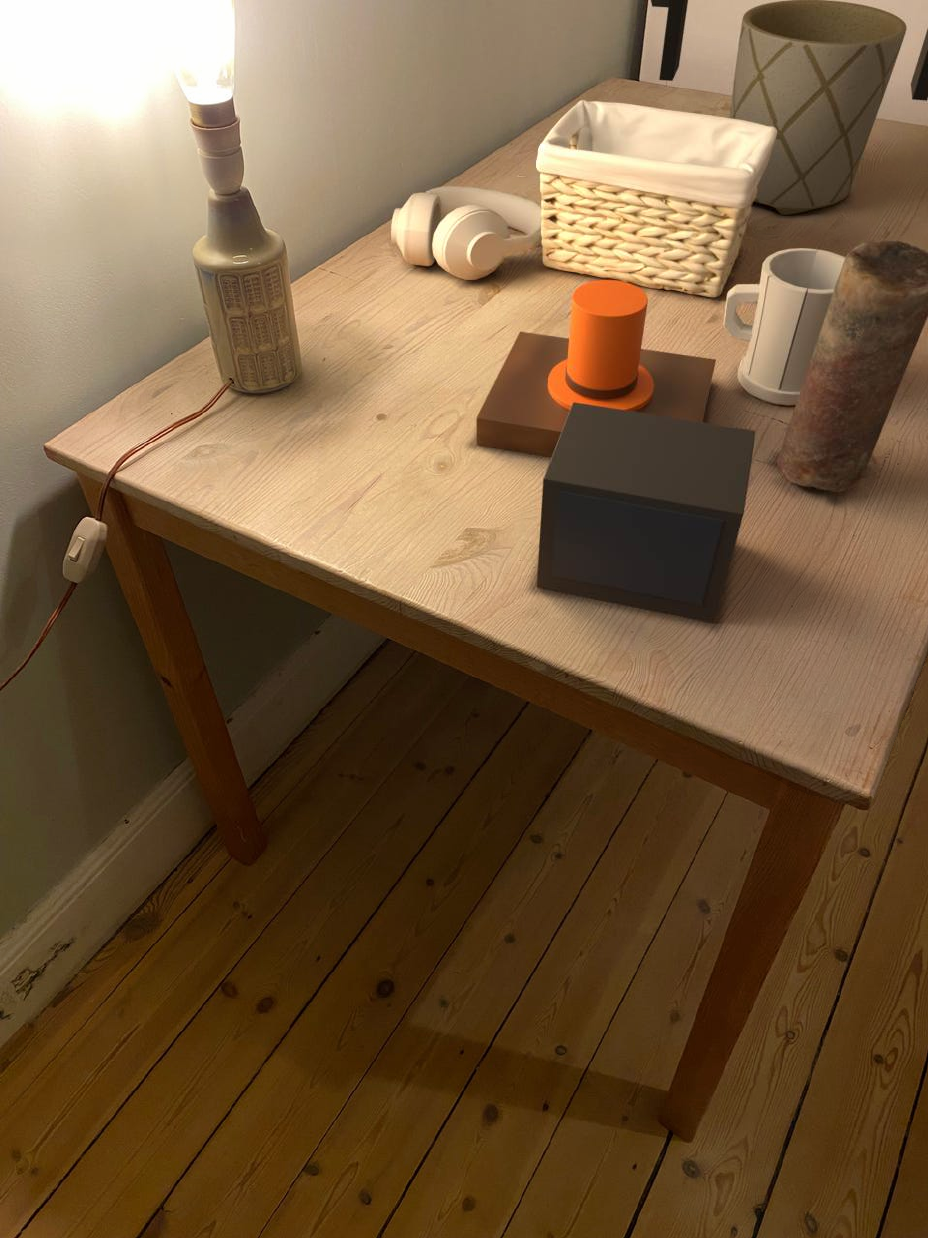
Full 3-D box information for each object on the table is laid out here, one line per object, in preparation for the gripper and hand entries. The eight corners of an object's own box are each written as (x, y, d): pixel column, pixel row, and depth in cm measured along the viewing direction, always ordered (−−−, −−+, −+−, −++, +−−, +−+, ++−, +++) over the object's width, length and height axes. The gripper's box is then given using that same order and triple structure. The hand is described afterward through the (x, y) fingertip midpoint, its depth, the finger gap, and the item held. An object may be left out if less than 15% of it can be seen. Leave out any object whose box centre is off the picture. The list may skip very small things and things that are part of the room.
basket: (754, 248, 113) (783, 119, 102) (728, 310, 102) (757, 174, 92) (569, 219, 119) (577, 94, 108) (527, 274, 109) (532, 143, 98)
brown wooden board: (710, 385, 92) (716, 359, 90) (689, 480, 82) (695, 453, 80) (519, 356, 96) (520, 331, 94) (476, 444, 86) (476, 417, 84)
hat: (660, 367, 89) (675, 278, 82) (643, 424, 83) (658, 333, 76) (560, 352, 91) (566, 264, 85) (536, 407, 85) (541, 317, 78)
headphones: (490, 300, 103) (569, 255, 117) (495, 228, 98) (578, 190, 112) (359, 261, 110) (449, 223, 123) (358, 193, 105) (452, 160, 118)
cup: (746, 417, 88) (776, 301, 80) (705, 368, 94) (728, 255, 86) (843, 399, 90) (882, 284, 81) (796, 352, 96) (828, 240, 87)
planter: (683, 182, 126) (709, 15, 112) (780, 152, 133) (817, -9, 119) (786, 232, 115) (831, 54, 101) (886, 196, 123) (941, 24, 108)
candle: (868, 462, 83) (951, 248, 69) (856, 510, 79) (942, 291, 64) (784, 442, 85) (847, 230, 71) (767, 487, 81) (830, 271, 66)
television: (727, 539, 76) (755, 430, 68) (713, 625, 70) (743, 515, 62) (563, 509, 79) (573, 401, 71) (535, 589, 73) (542, 479, 65)
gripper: (1258, -528, 36) (1023, 78, 51) (624, -493, 41) (585, 47, 56) (1319, -555, 31) (1039, 124, 46) (591, -512, 36) (558, 85, 51)
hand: (790, 83), depth 51 cm, fingers open, 13 cm apart
